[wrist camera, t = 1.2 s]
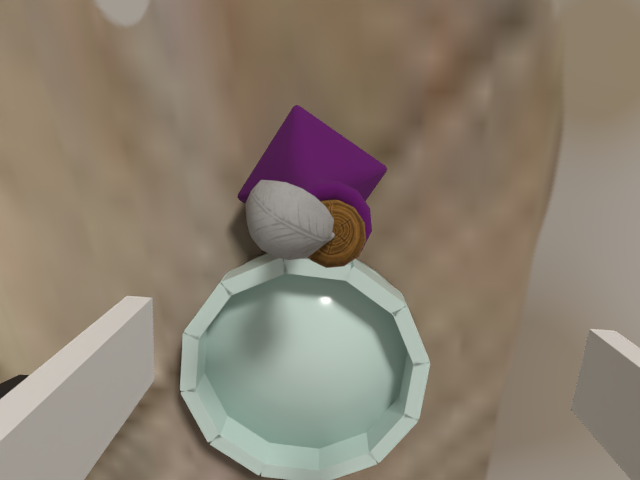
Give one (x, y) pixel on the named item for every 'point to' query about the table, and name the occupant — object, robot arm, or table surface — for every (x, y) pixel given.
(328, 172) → the perfume bottle
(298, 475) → the round tray
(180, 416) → the table surface
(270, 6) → the table surface
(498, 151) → the table surface
